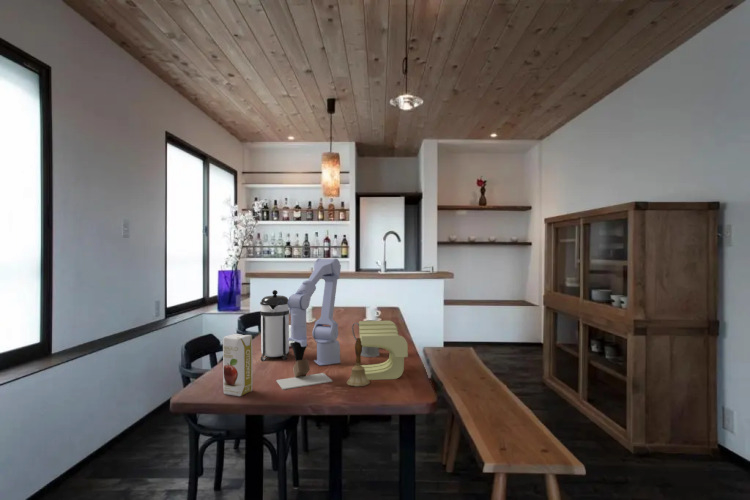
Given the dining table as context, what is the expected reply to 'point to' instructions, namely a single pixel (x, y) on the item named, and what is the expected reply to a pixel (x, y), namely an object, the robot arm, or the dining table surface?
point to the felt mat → (303, 381)
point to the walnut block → (301, 368)
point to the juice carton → (237, 364)
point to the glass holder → (368, 348)
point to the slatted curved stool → (386, 338)
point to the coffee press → (274, 326)
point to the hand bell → (358, 369)
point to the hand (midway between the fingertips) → (298, 361)
